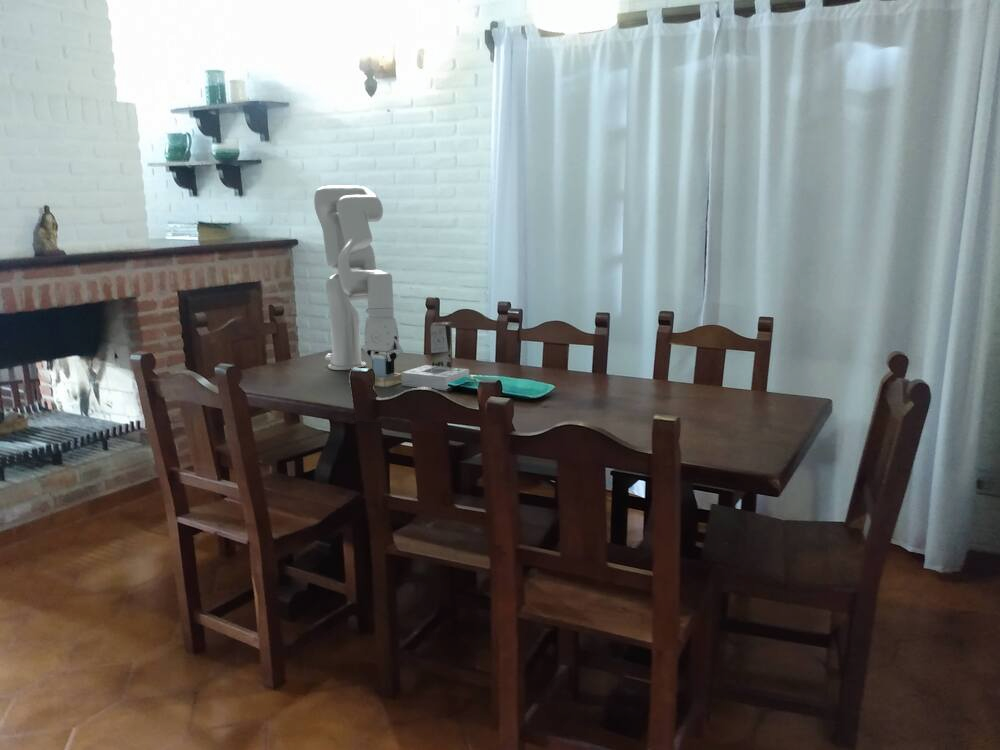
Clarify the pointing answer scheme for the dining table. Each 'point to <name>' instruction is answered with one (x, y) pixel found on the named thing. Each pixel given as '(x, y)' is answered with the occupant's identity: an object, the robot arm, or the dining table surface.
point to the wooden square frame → (388, 380)
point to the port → (432, 376)
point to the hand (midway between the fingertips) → (383, 372)
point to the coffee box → (441, 344)
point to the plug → (380, 365)
